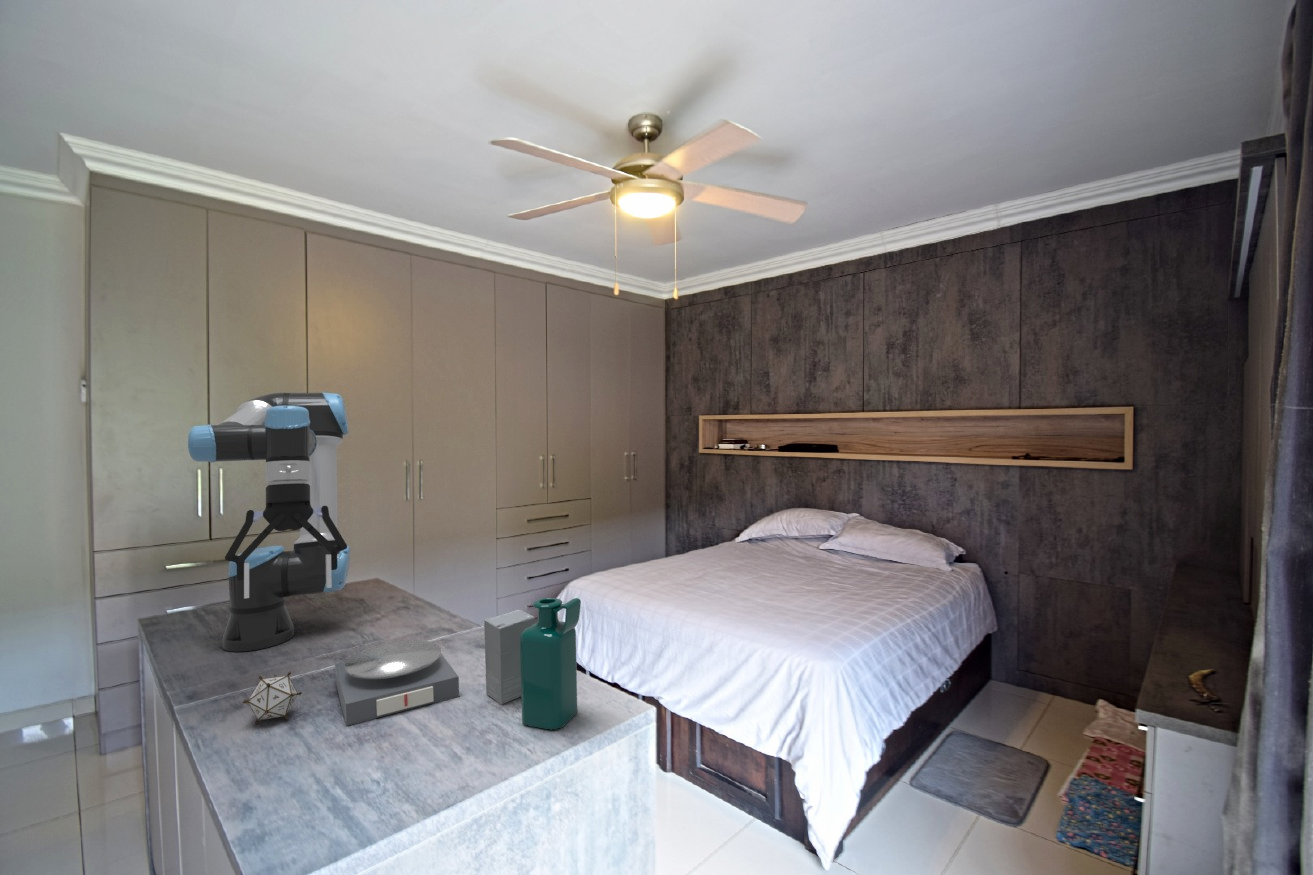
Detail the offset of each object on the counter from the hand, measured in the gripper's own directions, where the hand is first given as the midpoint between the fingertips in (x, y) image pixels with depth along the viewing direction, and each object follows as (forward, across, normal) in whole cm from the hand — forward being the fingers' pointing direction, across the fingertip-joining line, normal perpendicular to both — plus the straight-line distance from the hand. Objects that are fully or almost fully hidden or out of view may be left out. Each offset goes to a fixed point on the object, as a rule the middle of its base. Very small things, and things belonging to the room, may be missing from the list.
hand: (289, 592), depth 115 cm
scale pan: (+17, +18, -3) cm, 25 cm away
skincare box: (+24, +37, -18) cm, 48 cm away
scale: (+22, +18, -2) cm, 29 cm away
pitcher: (+26, +40, -32) cm, 57 cm away
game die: (+23, -3, -2) cm, 23 cm away
